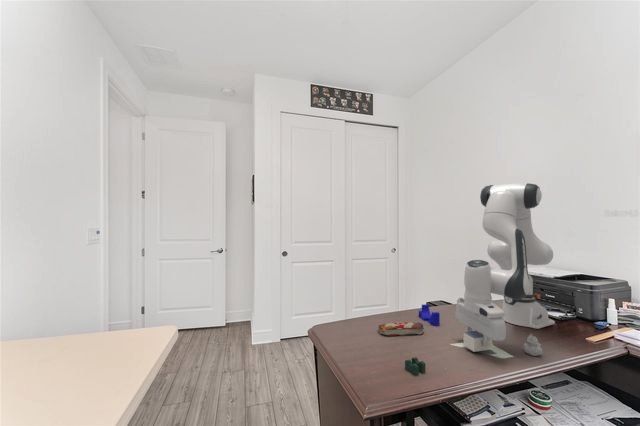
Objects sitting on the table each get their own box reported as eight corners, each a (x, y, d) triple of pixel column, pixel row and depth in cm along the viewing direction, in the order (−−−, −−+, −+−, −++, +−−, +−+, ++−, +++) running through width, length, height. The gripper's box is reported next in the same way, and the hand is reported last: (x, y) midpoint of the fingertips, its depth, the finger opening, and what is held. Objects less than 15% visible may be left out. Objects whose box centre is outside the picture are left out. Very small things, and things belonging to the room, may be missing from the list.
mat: (483, 341, 109) (483, 339, 109) (513, 358, 96) (513, 356, 96) (444, 346, 105) (444, 344, 105) (470, 364, 92) (470, 362, 92)
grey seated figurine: (519, 352, 100) (519, 330, 100) (531, 349, 102) (531, 328, 102) (535, 359, 95) (535, 337, 95) (547, 356, 97) (547, 334, 97)
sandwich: (376, 328, 122) (376, 317, 122) (421, 330, 120) (421, 318, 120) (379, 339, 111) (379, 327, 111) (429, 341, 109) (429, 329, 109)
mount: (421, 368, 90) (421, 353, 90) (432, 375, 86) (432, 360, 86) (397, 378, 85) (397, 362, 85) (408, 386, 81) (408, 369, 81)
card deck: (463, 345, 102) (463, 331, 102) (481, 342, 104) (481, 329, 104) (473, 351, 97) (473, 337, 97) (492, 349, 99) (492, 335, 99)
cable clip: (418, 316, 135) (418, 304, 135) (427, 316, 136) (427, 304, 136) (429, 326, 123) (429, 313, 123) (439, 326, 124) (439, 313, 124)
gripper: (450, 296, 110) (451, 330, 110) (493, 315, 90) (493, 357, 90) (464, 295, 111) (464, 329, 111) (509, 313, 91) (509, 354, 91)
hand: (477, 342), depth 100 cm, fingers closed on card deck, 5 cm apart
